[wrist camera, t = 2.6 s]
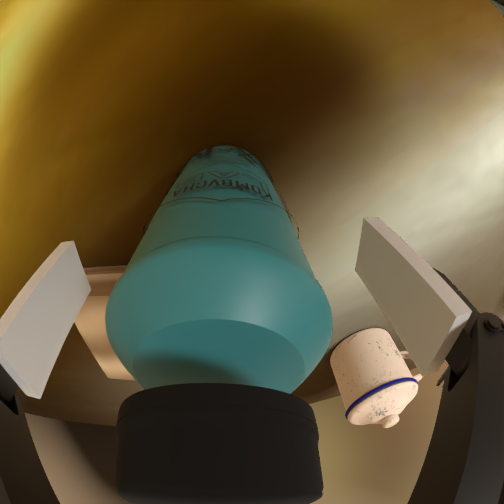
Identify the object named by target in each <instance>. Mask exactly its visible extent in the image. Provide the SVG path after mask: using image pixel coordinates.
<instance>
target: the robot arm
mask: <svg viewBox="0 0 504 504" xmlns="http://www.w3.org/2000/svg"><path fill="white" fill-rule="evenodd" d="M489 1H490V2H491V3H492V4H493V5H494V6H495V7H496V8H498V9H499V11H500V12H501V14H502V15H503V17H504V0H489ZM355 271H356V272H357V274H358V275H359V276H360V278H361V279H362V281H363V282H364V284H365V285H366V287H367V288H368V290H369V291H370V293H371V294H372V296H373V297H374V299H375V300H376V302H377V303H378V305H379V306H380V308H381V309H382V311H383V313H384V314H385V316H386V317H387V319H388V320H389V322H390V324H391V325H392V327H393V328H394V330H395V332H396V333H397V335H398V337H399V338H400V340H401V341H402V343H403V345H404V346H405V348H406V350H407V352H408V353H409V355H410V357H411V358H412V360H413V362H414V364H415V365H416V367H417V369H418V370H419V372H420V374H421V376H422V377H423V376H425V375H428V374H430V373H433V372H436V371H438V369H439V368H440V367H441V365H442V364H443V362H444V360H445V359H446V361H447V362H448V364H449V366H448V368H447V369H446V371H445V372H444V374H443V375H442V376H441V378H440V379H439V381H438V383H437V386H439V385H440V383H441V382H442V381H443V380H444V384H443V390H442V396H441V401H440V406H439V410H438V415H437V419H436V423H435V427H434V431H433V435H432V438H431V442H430V445H429V448H428V451H427V455H426V458H425V461H424V464H423V466H422V469H421V472H420V475H419V478H418V480H417V483H416V485H415V487H414V490H413V492H412V495H411V497H410V499H409V502H408V504H504V323H503V321H502V320H501V319H500V318H499V317H497V316H496V315H494V314H492V313H487V312H485V313H481V314H480V313H479V312H478V311H477V310H476V308H475V307H474V306H473V305H472V304H471V303H470V302H469V301H468V299H467V298H466V297H465V296H464V295H463V294H462V293H461V292H460V291H458V289H457V287H456V286H455V285H454V284H452V282H451V281H450V280H449V279H448V278H447V277H446V276H445V275H444V274H442V273H441V272H439V271H438V270H436V269H434V268H432V267H431V266H430V265H429V264H428V263H427V262H426V261H425V260H424V259H423V258H422V257H421V256H420V255H419V254H418V253H417V252H416V251H414V250H413V249H412V248H411V247H410V246H409V245H408V244H407V243H406V242H405V241H404V240H403V239H402V238H401V237H399V236H398V235H397V234H396V233H395V232H394V231H393V230H392V229H391V228H389V227H388V226H387V225H386V224H385V223H384V222H383V221H381V220H380V219H379V218H378V217H374V218H363V225H362V232H361V239H360V245H359V251H358V256H357V262H356V267H355ZM90 291H91V287H90V285H89V282H88V280H87V277H86V274H85V272H84V269H83V266H82V264H81V261H80V258H79V255H78V252H77V249H76V246H75V243H74V241H67V242H61V243H60V245H59V246H58V247H57V248H56V249H55V250H54V251H53V252H52V253H51V254H50V256H49V257H48V258H47V259H46V260H45V261H44V263H43V264H42V265H41V266H40V267H39V268H38V270H37V271H36V272H35V273H34V274H33V276H32V277H31V278H30V279H29V281H28V282H27V283H26V284H25V286H24V287H23V288H22V290H21V291H20V292H19V294H18V295H17V296H16V298H15V299H14V300H13V302H12V303H11V304H10V306H9V307H8V309H7V310H6V312H5V313H4V314H3V316H2V317H1V319H0V504H60V502H59V501H58V499H57V497H56V495H55V493H54V491H53V489H52V487H51V485H50V482H49V480H48V478H47V476H46V473H45V471H44V469H43V466H42V464H41V461H40V459H39V456H38V454H37V451H36V448H35V446H34V443H33V440H32V437H31V434H30V430H29V428H28V424H27V420H26V417H25V413H24V409H23V405H22V401H21V398H20V396H19V394H18V393H17V392H16V390H17V388H18V386H19V387H20V388H21V389H22V391H23V392H24V393H25V394H26V395H27V396H30V397H34V398H38V399H41V396H42V394H43V391H44V388H45V386H46V383H47V381H48V378H49V376H50V373H51V371H52V368H53V366H54V364H55V361H56V359H57V357H58V355H59V352H60V350H61V348H62V346H63V344H64V341H65V339H66V337H67V335H68V333H69V331H70V329H71V327H72V325H73V323H74V321H75V319H76V317H77V315H78V313H79V311H80V309H81V308H82V306H83V304H84V302H85V300H86V298H87V296H88V295H89V293H90Z"/></svg>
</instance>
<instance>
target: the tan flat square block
mask: <svg viewBox="0 0 504 504" xmlns="http://www.w3.org/2000/svg"><path fill="white" fill-rule="evenodd" d="M126 267H127V265H121V266H106V267H90V268H83V269H84V272H85V274H86V277H87V280H88V282H89V285H90V287H91V291H90V293H89V295H88V296H87V298H86V300H85V302H84V304H83V306H82V308H81V309H80V311H79V313H78V315H77V317H76V319H75V321H74V323H75V325H76V326H77V328H78V330H79V332H80V334H81V335H82V337H83V339H84V341H85V342H86V344H87V346H88V347H89V349H90V351H91V352H92V354H93V356H94V357H95V359H96V360H97V362H98V363H99V365H100V367H101V368H102V370H103V371H104V373H105V374H106V376H107V377H108V378H112V379H124V380H135V379H134V378H133V376H132V375H131V374H130V373H129V372H128V371H127V370H126V368H125V367H124V366H123V364H122V363H121V361H120V360H119V358H118V357H117V355H116V354H115V352H114V350H113V349H112V346H111V344H110V342H109V340H108V336H107V332H106V324H105V312H106V305H107V302H108V299H109V296H110V293H111V291H112V289H113V287H114V286H115V284H116V282H117V280H118V279H119V278H120V276H121V275H122V274H123V273H124V271H125V269H126Z"/></svg>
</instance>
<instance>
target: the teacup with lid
mask: <svg viewBox="0 0 504 504" xmlns="http://www.w3.org/2000/svg"><path fill="white" fill-rule="evenodd" d="M403 359H408V360H411V361H413V360H412V358H411V357H410V355H409V353H408V352H407V351H401V352H399V351H398V349H397V347H396V345H395V343H394V342H393V340H392V338H391V336H390V335H389V333H388V332H387V331H385V330H384V329H380V328H369V329H365V330H362V331H359V332H356V333H354V334H352V335H351V336H349V337H347V338H346V339H344V340H343V341H342V342H341V343H340V344H339V345H338V346H337V347H336V348H335V349H334V351H333V353H332V355H331V358H330V364H331V367H332V370H333V373H334V376H335V379H336V382H337V385H338V388H339V391H340V394H341V397H342V400H343V403H344V406H345V409H346V414H345V416H346V418H347V420H348V421H349V422H351V423H352V424H355V425H364V424H379V423H382V426H383V427H385V428H388V427H391V426H393V425H395V424H396V423H397V422H398V421H399V417H398V414H399V413H401V412H402V410H403V409H404V408H405V406H406V405H407V404H408V403H409V402H410V401H411V400H412V399H413V398H414V397H415V395H416V393H417V391H418V381H419V380H421V379H422V376H421V374H420V373H419V374H417V375H415V376H412V375H411V373H410V371H409V369H408V367H407V365H406V364H405V362H404V360H403Z"/></svg>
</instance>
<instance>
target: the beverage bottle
mask: <svg viewBox="0 0 504 504" xmlns="http://www.w3.org/2000/svg"><path fill="white" fill-rule="evenodd" d="M214 146H215V147H211V145H210V148H208V147H207V149H204V150H203V151H201V150H200V151H201V152H200V153H199V151H197V152H198V153H197V154H196V153H195V155H194V157H193V156H191V157H193V158H192V159H191V160H190V161H189V162H188V163H187V162H186V163H187V165H186V166H185V168H184V169H183V171H182V172H181V174H180V175H179V177H178V176H177V175H178V173H179V172H178V173H177V175H176V176H177V177H178V178H177V180H176V181H174V183H173V184H172V186H171V187H170V189H169V190H168V191H167V192H166V193H167V194H166V193H165V194H166V197H165V199H164V200H163V202H162V203H160V204H161V205H160V207H158V208H157V209H158V210H157V212H156V213H155V215H154V217H153V218H152V220H151V222H150V224H149V226H148V229H147V231H146V233H145V234H144V236H143V238H142V240H141V241H140V243H139V245H138V247H137V249H136V250H135V252H134V254H133V256H132V258H131V260H130V262H129V263H128V265H127V267H126V269H125V271H124V273H123V274H122V275H121V276H120V278H119V279H118V280H117V282H116V284H115V286H114V287H113V289H112V291H111V293H110V296H109V299H108V302H107V305H106V312H105V324H106V332H107V336H108V340H109V342H110V344H111V346H112V349H113V350H114V352H115V354H116V355H117V357H118V358H119V360H120V361H121V363H122V364H123V366H124V367H125V368H126V370H127V371H128V372H129V373H130V374H131V375H132V376H133V378H134V379H135V380H136V381H137V382H138V383H139V384H140V385H141V386H142V387H143V388H144V389H145V390H143V391H140V392H137V393H135V394H133V395H131V396H129V397H128V398H127V399H125V400H124V402H123V403H122V404H121V406H120V409H119V414H118V420H117V425H116V437H117V455H116V456H117V457H116V481H115V485H116V488H117V492H118V495H119V496H120V497H122V498H123V499H125V500H127V501H130V502H132V503H135V504H310V503H312V502H314V501H316V500H318V499H319V498H321V497H322V495H323V494H322V490H323V480H322V472H321V466H320V457H319V451H318V440H319V434H318V428H317V424H316V419H315V416H314V412H313V410H312V408H311V406H310V405H309V404H308V403H307V402H305V401H304V400H302V399H301V398H298V397H296V396H294V395H292V394H291V393H292V392H293V391H294V390H295V389H296V388H297V387H298V386H299V385H301V384H302V383H303V381H304V380H305V379H306V378H307V377H308V376H309V375H310V374H311V372H312V371H313V370H314V369H315V367H316V366H317V365H318V363H319V362H320V361H321V359H322V358H323V356H324V354H325V353H326V351H327V349H328V346H329V344H330V341H331V336H332V313H331V308H330V305H329V302H328V300H327V297H326V295H325V293H324V290H323V289H322V287H321V286H320V284H319V282H318V281H317V280H316V279H315V277H314V274H313V272H312V270H311V268H310V265H309V263H308V261H307V259H306V256H305V254H304V252H303V250H302V247H301V245H300V243H299V241H298V239H297V236H296V232H295V230H294V227H293V225H292V223H291V222H292V221H290V219H291V217H289V215H288V214H287V213H286V212H287V211H288V210H287V211H286V210H285V209H286V208H285V209H284V206H283V205H282V204H283V203H281V201H280V199H279V197H278V195H277V193H276V191H275V189H274V186H273V184H272V183H271V181H270V179H272V177H271V178H270V179H269V177H268V175H267V173H266V171H265V170H264V168H263V166H264V165H263V164H264V163H262V162H261V161H260V162H261V163H262V165H263V166H262V165H261V163H260V162H259V161H258V160H257V159H256V158H255V157H257V156H255V157H254V156H253V154H250V151H249V152H247V151H245V150H246V149H245V150H243V149H241V148H237V147H238V146H236V147H233V146H216V144H215V145H214ZM247 150H248V149H247ZM191 157H190V158H191ZM186 163H185V164H186ZM185 164H184V165H185ZM182 167H183V166H182ZM264 167H265V166H264ZM181 169H182V168H181ZM181 169H180V170H181ZM265 169H266V168H265ZM266 170H267V169H266ZM267 172H268V171H267ZM268 173H269V172H268ZM269 175H270V174H269ZM270 176H271V175H270ZM272 182H273V180H272ZM165 194H164V195H165ZM280 195H281V194H280ZM163 198H164V197H163ZM280 198H282V197H280ZM160 200H161V199H160ZM283 200H284V199H283ZM161 201H162V200H161ZM159 202H160V201H159ZM284 203H285V202H284ZM158 205H159V204H158ZM286 206H287V205H286ZM154 208H155V207H154ZM154 211H155V210H154ZM154 211H153V212H154ZM153 212H152V213H153ZM152 213H151V214H152ZM288 213H289V212H288ZM149 216H150V215H149ZM289 218H290V219H289ZM293 219H294V218H293ZM146 221H147V220H146ZM145 223H146V222H145ZM296 225H297V224H296ZM297 228H298V227H297ZM143 229H145V226H144V228H143ZM298 230H299V229H298Z"/></svg>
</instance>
